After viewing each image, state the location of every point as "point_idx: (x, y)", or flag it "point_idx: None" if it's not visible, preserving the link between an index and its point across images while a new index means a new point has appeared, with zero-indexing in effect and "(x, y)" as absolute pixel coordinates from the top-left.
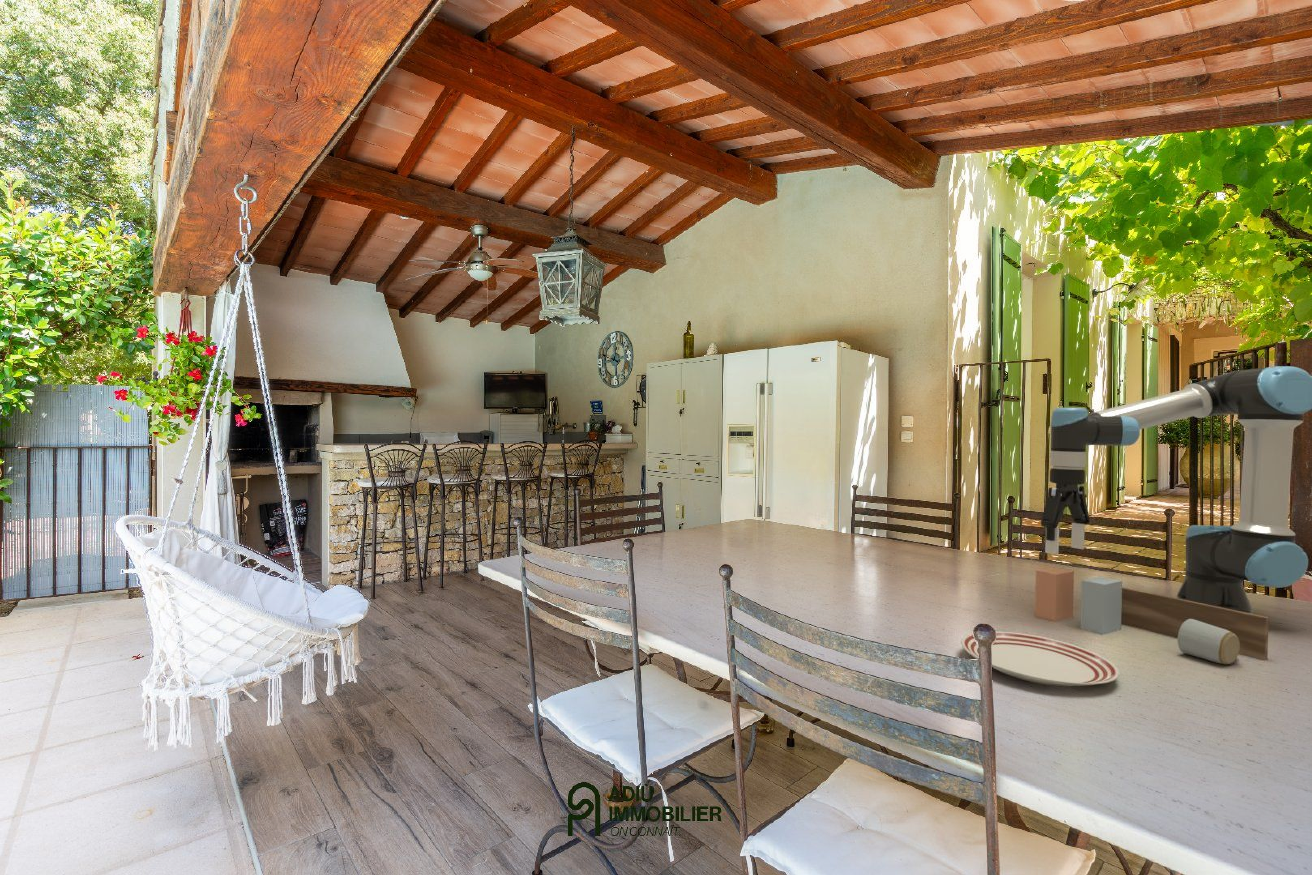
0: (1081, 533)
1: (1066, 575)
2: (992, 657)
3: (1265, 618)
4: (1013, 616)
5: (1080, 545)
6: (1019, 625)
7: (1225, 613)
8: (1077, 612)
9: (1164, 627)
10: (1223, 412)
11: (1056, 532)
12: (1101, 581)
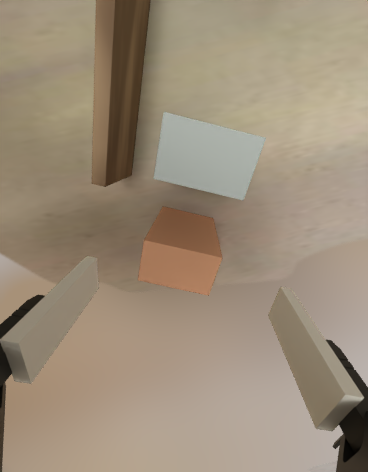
0: (59, 304)
1: (177, 244)
2: None
3: None
4: (232, 264)
5: (91, 271)
6: (277, 246)
7: None
8: (127, 208)
9: (140, 44)
10: None
11: (343, 373)
12: (223, 156)
